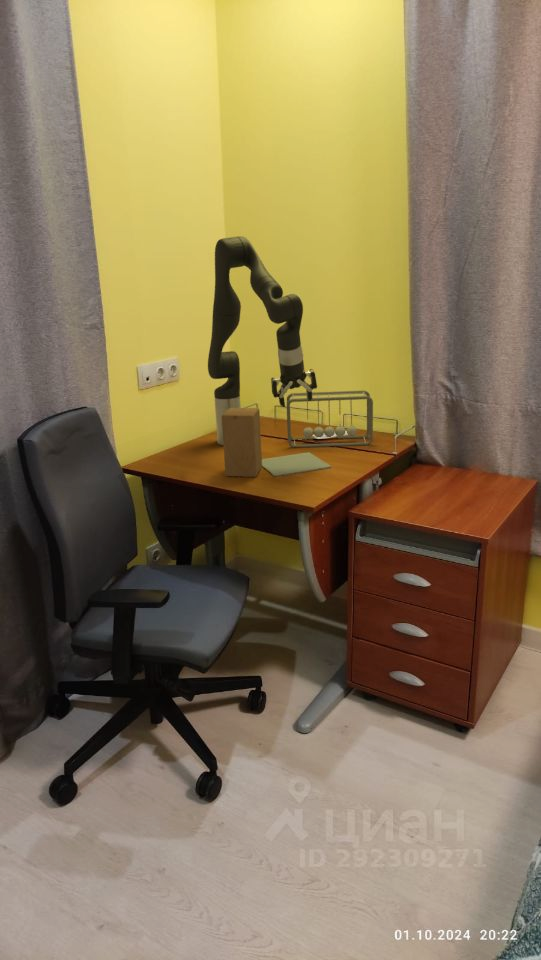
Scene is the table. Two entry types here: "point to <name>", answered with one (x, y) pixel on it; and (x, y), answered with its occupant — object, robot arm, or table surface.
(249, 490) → the table surface
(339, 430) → the newton's cradle
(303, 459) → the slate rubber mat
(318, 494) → the table surface
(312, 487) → the table surface
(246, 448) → the wooden block
